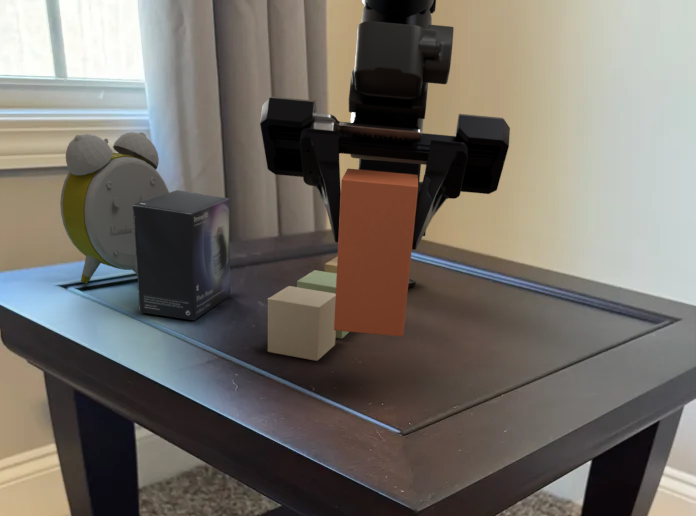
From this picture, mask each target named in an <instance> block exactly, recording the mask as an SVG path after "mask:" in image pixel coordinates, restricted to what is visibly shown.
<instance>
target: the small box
mask: <svg viewBox="0 0 696 516" xmlns="http://www.w3.org/2000/svg"><path fill="white" fill-rule="evenodd" d="M132 207H133V221H134V236H135V249H136V259H137V274H138V276H137V290H138V312H139V313H144V314H150V315H156V316H164V317H169V318H175V319H181V320H189V321H195V320H197V319H198V318H200V317H201V316H202V315H203V316H204V314H205V313H207V312H208V311H210V310H211V309H213V308H214V307H216V306H217V305H219V304H220V303H222V302H223V301H224V300H226V299H228V298H229V297H230V296H231V253H230V252H231V251H230V250H231V247H230V244H231V243H230V240H231V239H230V198H229V197H224V196H215V195H209V194H205V193H198V192H192V191H186V190H180V189H176V190H172V191H169V193H166V194H163V195H160V196H157V197H154V198H151V199H148V200H145V201H142V202H139V203H135V204H133V205H132ZM137 274H136V275H137Z"/></svg>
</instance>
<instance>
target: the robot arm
mask: <svg viewBox="0 0 696 516" xmlns="http://www.w3.org/2000/svg"><path fill="white" fill-rule="evenodd" d="M361 3H362V6H363V9H362V11H361V12H362V13H361V20H360V23H359V24H358V26H357V33H356V45H355V55H354V56H355V58H354V68H353V70H352V71H351V75H350V84H349V94H348V113H350V121H349V122H348V121H339V120H338V119H337V117H336V116H334V114H330V113H324V112H323V113H321V112H318V111H317V100H312V99H301V98H292V97H281V96H270V97H269V98H268V99H267V100H266V101H265V102H264V103H263V104H262V107H261V114H260V122H259V126H260V131H261V138H262V143H263V149H264V156H265V162H266V168H267V170H268V171H269V172H271V173H273V174H274V175H275V176H276V175H277V176H286V177H297V178H298V177H299V178H302V179H303V180H302V181H303V182H304V183H305V184H306V185H307V186H311V187H315V188H316V190H317V193H318V194H319V196H320V198H321V200H322V203H323V205H324V207H325V209H326V213H327V218H328V220H329V225H330V228H331V232H332V235H333V241H334V243H337V244H338V238H339V219H340V199H341V168H340V154H342V155H343V154H344V155H350V157H351V158H352V159H358V168H357V169H359V170H370V171H381V172H392V173H402V174H413V175H418V193H417V203H416V213H415V223H414V233H413V242H412V251H413V250H415V251H416V250H417V248H418V247H419V244H420V242H421V241H422V239H423V237H426V233H427V229H428V227H429V225H430V223H431V221H432V220H433V218H434V216H435V215H436V214H437V212H439V209H440V208H441V207H442V206H443V204H444V203H445V202H446V200H449V199H450V200H451V199H452V200H453V199H457V198H459V197H460V195H461V192H462V193H472V194H483V195H491V194H492V193H495V192H496V191H498V187H499V184H500V180H501V176H502V173H503V169H504V165H505V162H506V159H507V155H508V151H509V148H510V134H511V127H510V126H509V125H508V123H507V121H506V120H505V119H504V118H503V117H498V116H489V115H475V114H465V113H459V114H458V115H457V116H458V117H457V123H456V129H455V132H454V133H455V134H454V135H446V134H438V133H437V134H435V133H424V132H423V129H424V120H425V119H426V110H427V102H428V101H427V100H428V89H429V84H436V85H447V84H448V83H449V76H450V71H451V63H452V54H453V43H454V42H453V41H454V30H455V29H454V27H453V26H449V25H439V24H433V22H432V18H433V17H432V14H434V13H435V12H436V6H437V0H361ZM422 165H424V166H425V169H424V173H423V174H424V175H423V178H422V181H420V180H421V169H422ZM416 283H417V281H416V280H415V279H410V278H409V282H408V288H410V287H414V286H416Z"/></svg>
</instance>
